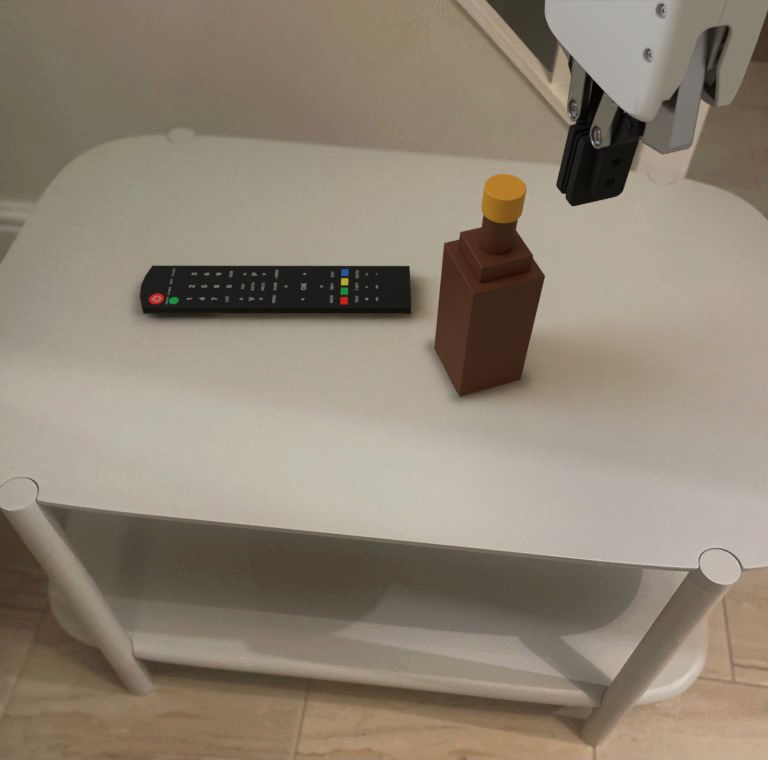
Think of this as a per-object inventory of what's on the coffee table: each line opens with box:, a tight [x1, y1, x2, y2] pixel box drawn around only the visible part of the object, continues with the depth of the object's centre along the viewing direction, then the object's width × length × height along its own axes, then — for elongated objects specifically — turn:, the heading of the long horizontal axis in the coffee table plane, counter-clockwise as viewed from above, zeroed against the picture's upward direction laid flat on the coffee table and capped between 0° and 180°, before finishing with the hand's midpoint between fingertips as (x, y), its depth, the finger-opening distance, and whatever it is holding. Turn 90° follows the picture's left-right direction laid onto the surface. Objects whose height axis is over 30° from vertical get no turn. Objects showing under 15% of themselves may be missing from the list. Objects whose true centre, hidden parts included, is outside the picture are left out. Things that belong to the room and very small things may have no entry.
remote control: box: [139, 265, 412, 315], centre depth 71 cm, size 5×24×1 cm, turn 91°
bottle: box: [433, 173, 546, 397], centre depth 60 cm, size 6×6×18 cm
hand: (588, 191), depth 42 cm, fingers closed
